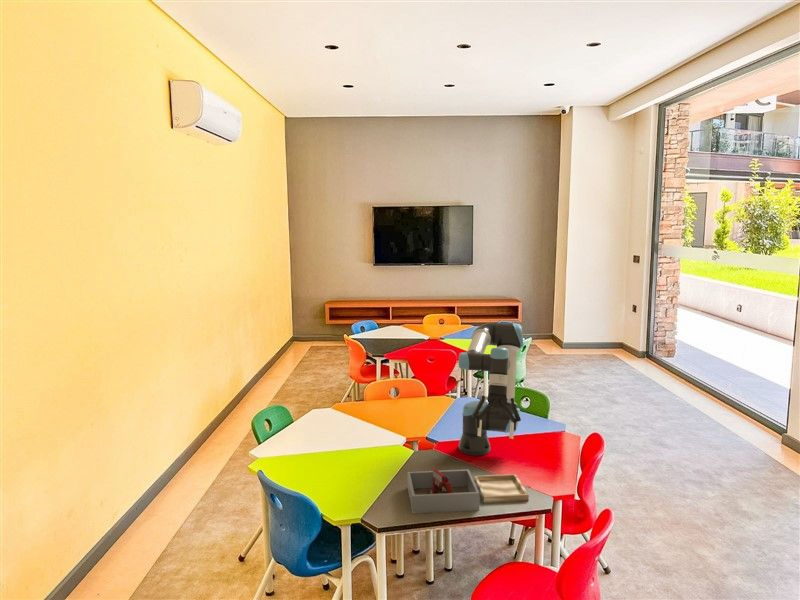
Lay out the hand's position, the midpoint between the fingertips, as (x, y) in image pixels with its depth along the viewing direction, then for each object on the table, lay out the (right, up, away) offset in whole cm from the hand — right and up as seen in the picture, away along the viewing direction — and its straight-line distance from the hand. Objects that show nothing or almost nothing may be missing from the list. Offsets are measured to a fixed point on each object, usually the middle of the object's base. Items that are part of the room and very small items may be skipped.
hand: (495, 437), depth 225 cm
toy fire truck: (-22, -24, -4) cm, 33 cm away
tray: (+2, -22, +2) cm, 23 cm away
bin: (-22, -24, -4) cm, 33 cm away
